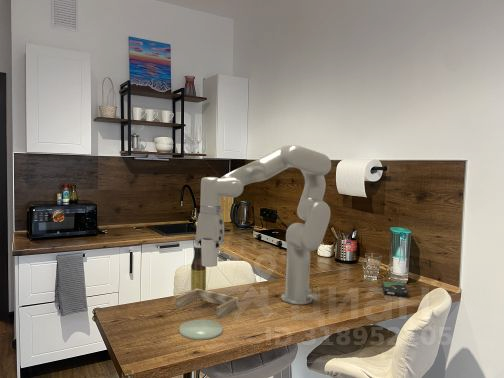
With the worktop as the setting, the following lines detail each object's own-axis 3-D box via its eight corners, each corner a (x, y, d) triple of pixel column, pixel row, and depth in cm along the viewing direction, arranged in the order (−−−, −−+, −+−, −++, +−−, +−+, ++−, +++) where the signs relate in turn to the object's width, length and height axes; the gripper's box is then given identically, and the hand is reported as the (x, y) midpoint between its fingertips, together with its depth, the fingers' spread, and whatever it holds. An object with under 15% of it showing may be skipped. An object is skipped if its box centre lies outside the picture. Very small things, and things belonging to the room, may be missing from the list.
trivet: (230, 327, 135) (230, 325, 134) (206, 343, 122) (206, 341, 122) (196, 318, 141) (196, 316, 141) (170, 332, 129) (170, 330, 129)
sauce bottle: (198, 289, 173) (200, 243, 172) (208, 292, 169) (210, 246, 168) (187, 292, 168) (188, 245, 167) (197, 296, 164) (198, 248, 163)
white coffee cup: (214, 268, 146) (214, 240, 145) (197, 266, 148) (198, 239, 147) (221, 263, 152) (221, 237, 152) (204, 261, 154) (205, 236, 154)
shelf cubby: (237, 307, 153) (238, 297, 153) (218, 319, 142) (219, 308, 141) (196, 298, 162) (196, 288, 162) (175, 307, 151) (175, 297, 150)
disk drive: (408, 299, 173) (404, 288, 187) (409, 293, 173) (405, 282, 187) (383, 296, 175) (381, 286, 190) (384, 290, 175) (381, 280, 189)
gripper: (234, 211, 148) (232, 260, 150) (198, 207, 156) (197, 254, 157) (223, 213, 142) (221, 264, 143) (186, 209, 150) (185, 257, 151)
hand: (209, 258), depth 150 cm, fingers closed on white coffee cup, 2 cm apart
